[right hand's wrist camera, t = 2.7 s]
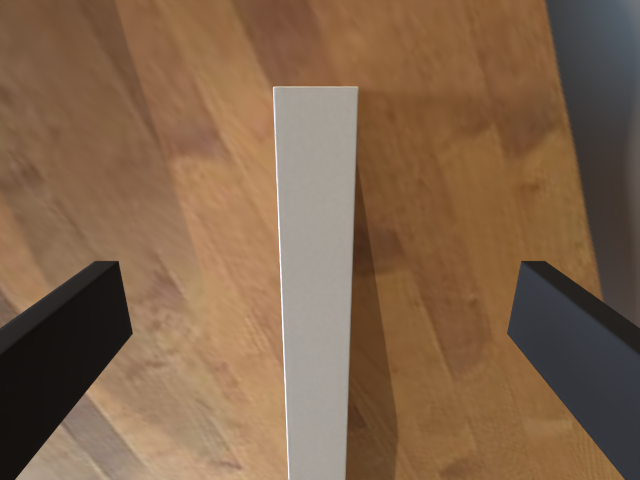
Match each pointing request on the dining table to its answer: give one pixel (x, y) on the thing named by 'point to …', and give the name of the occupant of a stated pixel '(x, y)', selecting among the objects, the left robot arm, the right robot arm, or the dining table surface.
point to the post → (316, 270)
